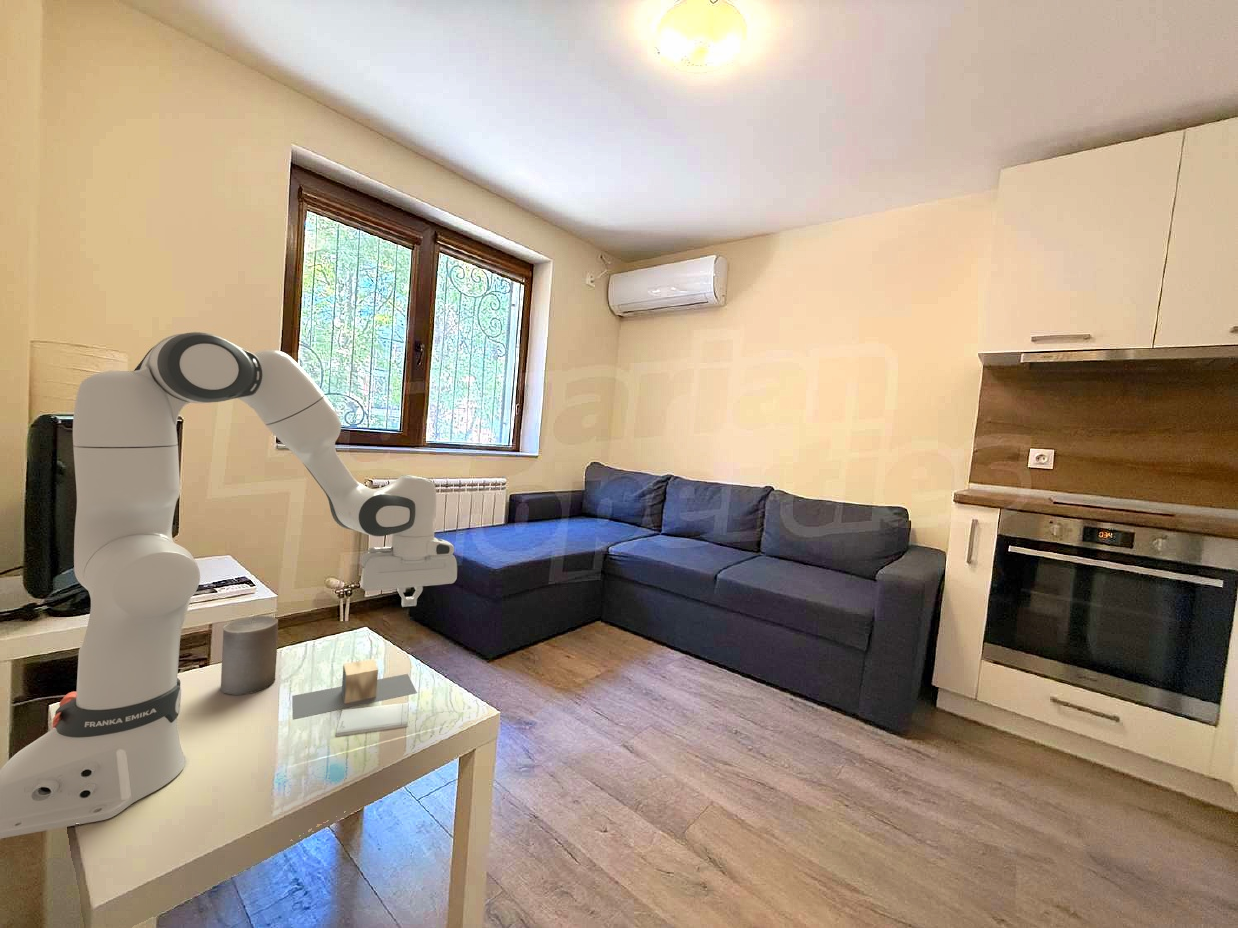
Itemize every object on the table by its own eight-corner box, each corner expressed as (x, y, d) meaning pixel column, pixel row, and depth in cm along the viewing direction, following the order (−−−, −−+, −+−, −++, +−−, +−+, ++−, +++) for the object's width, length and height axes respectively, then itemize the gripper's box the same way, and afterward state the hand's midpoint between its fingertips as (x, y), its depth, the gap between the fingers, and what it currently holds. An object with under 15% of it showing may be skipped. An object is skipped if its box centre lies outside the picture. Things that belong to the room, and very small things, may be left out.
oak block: (376, 696, 103) (344, 703, 100) (371, 684, 108) (341, 690, 105) (378, 669, 103) (346, 675, 100) (373, 658, 108) (343, 663, 104)
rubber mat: (292, 720, 93) (292, 719, 93) (292, 696, 101) (292, 695, 101) (416, 693, 106) (417, 692, 106) (407, 674, 114) (407, 673, 114)
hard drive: (335, 732, 89) (407, 722, 94) (342, 708, 96) (408, 700, 101) (335, 740, 89) (407, 730, 94) (341, 716, 96) (408, 708, 101)
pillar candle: (276, 670, 111) (279, 607, 111) (274, 689, 103) (277, 621, 103) (223, 679, 106) (226, 613, 106) (216, 700, 98) (219, 628, 97)
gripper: (363, 551, 100) (359, 616, 100) (461, 546, 112) (457, 604, 112) (359, 545, 105) (355, 606, 105) (453, 541, 117) (449, 596, 117)
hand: (408, 605), depth 109 cm, fingers closed
